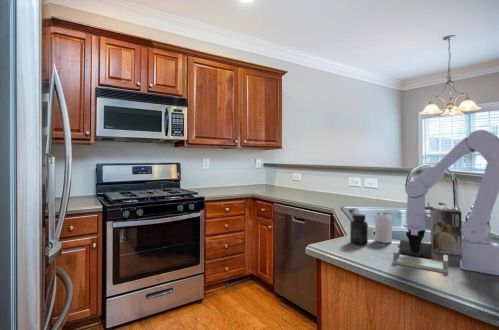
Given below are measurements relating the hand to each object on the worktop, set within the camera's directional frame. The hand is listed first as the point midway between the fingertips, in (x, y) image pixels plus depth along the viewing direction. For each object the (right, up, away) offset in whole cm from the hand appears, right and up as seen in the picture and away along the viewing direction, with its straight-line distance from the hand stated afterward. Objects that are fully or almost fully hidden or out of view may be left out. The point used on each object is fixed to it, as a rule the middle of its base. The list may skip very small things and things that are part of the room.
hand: (415, 250), depth 105 cm
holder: (-4, -2, -9) cm, 10 cm away
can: (-3, -2, +18) cm, 18 cm away
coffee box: (+14, -2, +4) cm, 14 cm away
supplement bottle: (-15, -2, +15) cm, 21 cm away
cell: (0, -2, 0) cm, 2 cm away
